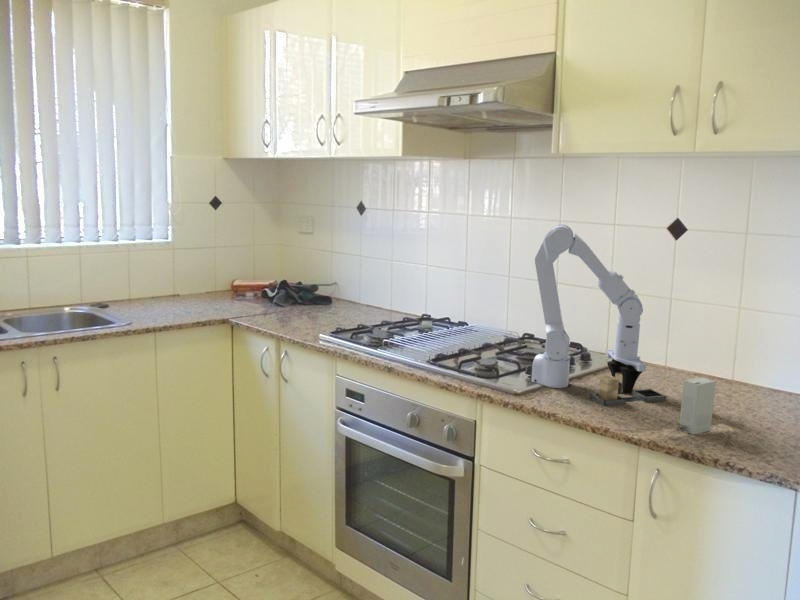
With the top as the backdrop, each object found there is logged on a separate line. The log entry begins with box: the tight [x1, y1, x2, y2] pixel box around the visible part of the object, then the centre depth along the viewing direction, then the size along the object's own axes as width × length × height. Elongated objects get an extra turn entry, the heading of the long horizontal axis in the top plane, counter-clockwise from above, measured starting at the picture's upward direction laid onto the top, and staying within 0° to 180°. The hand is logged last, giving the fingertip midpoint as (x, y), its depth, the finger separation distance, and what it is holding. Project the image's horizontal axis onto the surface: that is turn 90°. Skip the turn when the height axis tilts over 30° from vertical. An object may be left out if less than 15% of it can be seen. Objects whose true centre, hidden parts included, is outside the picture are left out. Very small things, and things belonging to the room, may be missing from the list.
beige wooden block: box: [615, 372, 624, 393], centre depth 187 cm, size 4×3×6 cm
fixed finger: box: [598, 375, 622, 400], centre depth 178 cm, size 4×3×6 cm
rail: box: [590, 388, 667, 407], centre depth 180 cm, size 18×6×3 cm, turn 108°
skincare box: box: [678, 376, 717, 435], centre depth 162 cm, size 6×4×12 cm
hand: (622, 390), depth 187 cm, fingers open, 4 cm apart
